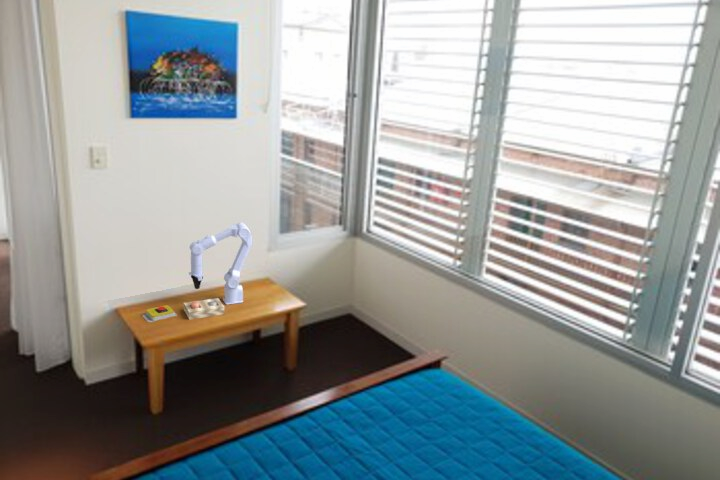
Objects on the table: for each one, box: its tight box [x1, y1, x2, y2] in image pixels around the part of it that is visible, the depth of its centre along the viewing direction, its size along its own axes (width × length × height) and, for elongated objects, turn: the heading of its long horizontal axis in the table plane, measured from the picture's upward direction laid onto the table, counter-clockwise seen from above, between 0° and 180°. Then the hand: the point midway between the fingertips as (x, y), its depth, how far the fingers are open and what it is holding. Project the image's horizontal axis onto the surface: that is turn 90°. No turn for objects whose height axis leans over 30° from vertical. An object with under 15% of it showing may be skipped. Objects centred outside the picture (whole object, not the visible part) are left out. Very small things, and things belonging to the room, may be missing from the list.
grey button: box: [209, 301, 217, 306], centre depth 296 cm, size 4×4×4 cm
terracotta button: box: [191, 300, 199, 309], centre depth 291 cm, size 4×4×4 cm
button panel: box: [183, 297, 226, 320], centre depth 294 cm, size 18×12×4 cm, turn 119°
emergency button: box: [141, 304, 178, 323], centre depth 287 cm, size 9×4×15 cm
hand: (197, 288), depth 299 cm, fingers closed
